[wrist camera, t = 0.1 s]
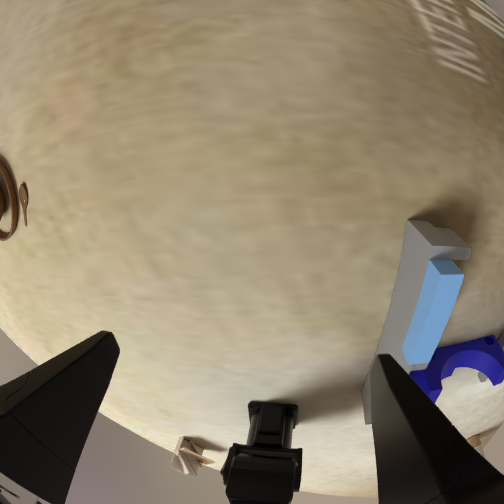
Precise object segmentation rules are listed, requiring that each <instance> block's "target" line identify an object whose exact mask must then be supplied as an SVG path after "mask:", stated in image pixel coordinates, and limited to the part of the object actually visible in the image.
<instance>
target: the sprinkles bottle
mask: <svg viewBox="0 0 504 504" xmlns="http://www.w3.org/2000/svg"><path fill="white" fill-rule="evenodd" d="M467 441H468V442H469V443H470V444H471V445H472V446H473V447H474V448H475V449H476V450H477V451H478V452H479V453H480V454H481V455H482V456H483V457H484V453H483V449H482V446H481V443H480V439H479V435H475V436H473V437H471V438H469V439H467ZM484 458H485V457H484Z"/></svg>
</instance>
